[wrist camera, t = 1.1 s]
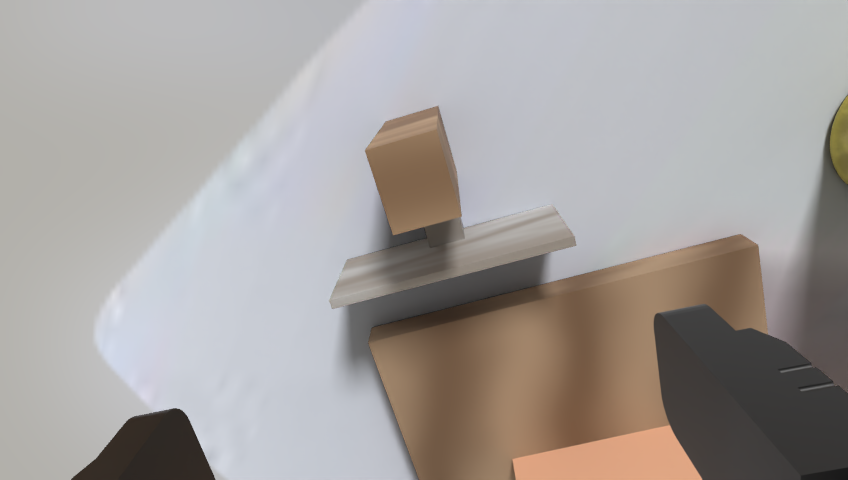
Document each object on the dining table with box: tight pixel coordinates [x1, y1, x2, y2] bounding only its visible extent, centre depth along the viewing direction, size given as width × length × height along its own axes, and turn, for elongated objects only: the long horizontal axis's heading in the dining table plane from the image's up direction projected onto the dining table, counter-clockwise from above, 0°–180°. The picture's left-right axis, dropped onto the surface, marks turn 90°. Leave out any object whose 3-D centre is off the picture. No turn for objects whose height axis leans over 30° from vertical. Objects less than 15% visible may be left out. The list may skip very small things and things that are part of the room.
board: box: [368, 234, 768, 480], centre depth 29 cm, size 18×18×2 cm
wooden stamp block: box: [329, 106, 576, 309], centre depth 22 cm, size 6×10×7 cm, turn 106°
